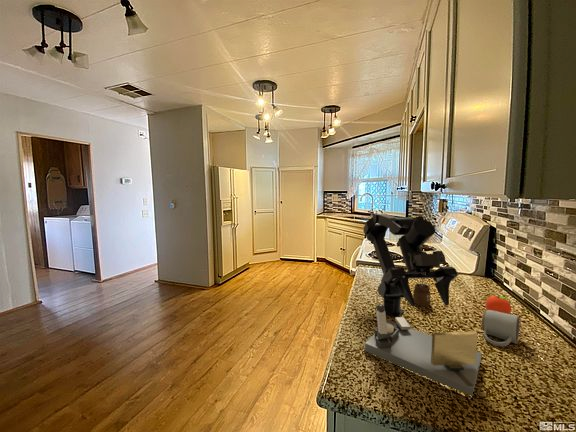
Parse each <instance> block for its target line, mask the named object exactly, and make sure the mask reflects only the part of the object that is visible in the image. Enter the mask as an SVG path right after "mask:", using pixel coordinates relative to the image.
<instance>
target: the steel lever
mask: <svg viewBox="0 0 576 432" xmlns="http://www.w3.org/2000/svg"><path fill="white" fill-rule="evenodd" d="M375 309H376V310H375V311H376V321H377V327H378V332H379V333H377V336H378V339H379V340H389V339H390V336H389V333H388V332H387V323H386V322H387V316H386V315H387V314H385V308H384V306H383V304H377V305H376V308H375Z"/></svg>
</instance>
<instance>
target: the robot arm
mask: <svg viewBox="0 0 576 432" xmlns="http://www.w3.org/2000/svg"><path fill="white" fill-rule="evenodd" d="M387 231H389V233H391V234H392V235H394V236H400V237H399V238H398V240H397V242H396V247H399V248H400V252H401V255H402V259H401V263H402V264H405V267H406V269H405V268H404V267H396V265H395V263H394V261H393V257H392V255H391V252H390V250H389V247H388V245H387V242H386V239H385V237H386V234H387ZM435 233H436V226H435V225H433V223H431V222H430V221H429V220H426V219H425V218H424V216H415V217H397V216H394V215H390V214H388V213H385V212H382V213H381V212H376V213H374V214H373V215H372V217H371V218H369V219H368V220H366V222H365V223H364V226H363V234H364V235H365V237H366V239H367V241H369V242H370V243H371V244H373V245H372V246H373V247H374V251H375V253H376V258H377V260H378V262H379V265H380V268H381V272H382V276H381V280H380V283H379V285H378V286H377V294H379V296H380V297H381V298H382V299H383V304H382V305H383V306H384V308H385V314H386V315H387V316H391V317H394V318H395V317H401V315H402V313H404V309H403V308H401V302H402V301H401V300H402V299H401V298H403V299H404V298H405V300H406V301H407V303H408V304H409V305H410V306H411V307H415V306H416V304H415V303H414V299H413V294H412V290H411V288H410V286H409V279H420V278H425V279H433V281H434V282H435V283H434V286H435V288H436V291H437V292H438V294H439V297H440V299H441V300H442V303H443V304H444V306H445V307H446V306H447V307H448V306H449V305H450V284H451V282H452V281H453V280H455V279H456V278H457V277H458V276H459V273H458V271H457V268H455V267H453V266H441V263H445V262H446V257H445V256H446V255H445V254H444V252H443V250H435V251H432V253H427V251H423V249H422V247H421V246H423V245H425V244H426V242H428V241H429V240H430V238H431V237H432V236H434V234H435ZM435 266H437V267H438V266H439V267H438V268H437V269H436V270H433V269H434V268H435Z"/></svg>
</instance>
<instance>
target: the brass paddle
mask: <svg viewBox="0 0 576 432" xmlns="http://www.w3.org/2000/svg"><path fill="white" fill-rule="evenodd" d="M431 336H432V351H431V363H432V365H433V366H440V365H446V366H447V367H448V368H449V369H450V370H451V371H456V370H464V367H463V366H461V365H467V364H475V361H476V351H477V345H478V344H477V343H478V333H477V332H476V331H451V332H450V331H449V332H448V331H447V332H445V331H444V332H432V335H431Z"/></svg>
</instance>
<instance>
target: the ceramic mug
mask: <svg viewBox="0 0 576 432" xmlns="http://www.w3.org/2000/svg"><path fill="white" fill-rule="evenodd" d="M520 321H521V319H520V316H519V315H516V314H515V315H514V314H511V313H510V314H506V313H501V312H497V311H492V310H487V309H485V310H483V313H482V315H481V324H480V326H481V331H482V332H483V334H484V339H485V340H486V341H487V342H488V343H489V342H490V343H489V344H491V345H493V344H494V345H493V346H495V345H496V347H499V346H500V347H499V348H501V347H506V346H508V345H510V343H513V344H515V345H516V344H518V341H519V337H520V329H521V328H520V323H521V322H520ZM488 335H489V336H493V337H496V338H498V339H500V340H503V341H495V340H492V339H491V338H490V337H488Z"/></svg>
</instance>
